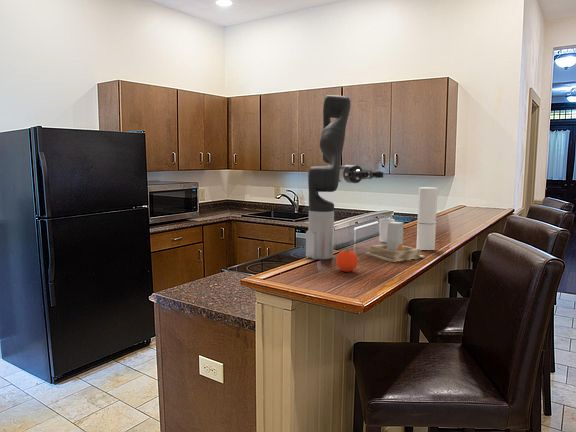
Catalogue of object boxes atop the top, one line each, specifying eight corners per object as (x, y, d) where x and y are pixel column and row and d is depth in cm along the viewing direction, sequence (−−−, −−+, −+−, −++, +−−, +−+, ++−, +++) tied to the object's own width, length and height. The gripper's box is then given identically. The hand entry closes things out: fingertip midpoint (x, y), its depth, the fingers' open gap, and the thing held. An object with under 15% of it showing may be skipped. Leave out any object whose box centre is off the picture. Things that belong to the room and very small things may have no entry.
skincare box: (397, 256, 165) (398, 223, 164) (386, 254, 168) (387, 222, 166) (402, 253, 170) (404, 222, 169) (391, 252, 173) (393, 221, 171)
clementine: (331, 268, 148) (332, 247, 147) (351, 267, 150) (351, 246, 149) (340, 274, 140) (340, 252, 139) (361, 273, 142) (361, 251, 141)
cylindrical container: (436, 248, 185) (439, 187, 182) (431, 251, 179) (434, 188, 176) (419, 247, 189) (421, 187, 186) (414, 249, 183) (416, 187, 180)
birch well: (391, 262, 159) (391, 253, 158) (364, 254, 172) (365, 246, 171) (425, 258, 166) (425, 249, 166) (397, 251, 179) (397, 242, 179)
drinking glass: (395, 242, 198) (396, 220, 197) (380, 242, 199) (380, 220, 197) (392, 240, 205) (392, 218, 204) (377, 240, 205) (378, 218, 204)
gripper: (336, 164, 188) (359, 165, 174) (363, 165, 194) (388, 165, 180) (335, 183, 189) (359, 184, 174) (363, 182, 195) (387, 184, 181)
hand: (374, 175), depth 177 cm, fingers open, 8 cm apart
